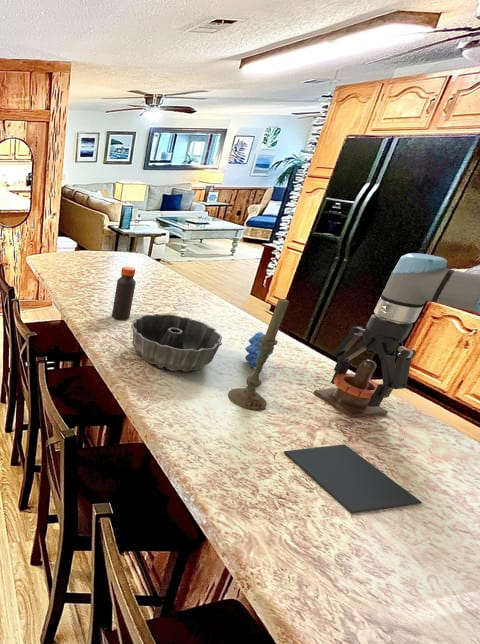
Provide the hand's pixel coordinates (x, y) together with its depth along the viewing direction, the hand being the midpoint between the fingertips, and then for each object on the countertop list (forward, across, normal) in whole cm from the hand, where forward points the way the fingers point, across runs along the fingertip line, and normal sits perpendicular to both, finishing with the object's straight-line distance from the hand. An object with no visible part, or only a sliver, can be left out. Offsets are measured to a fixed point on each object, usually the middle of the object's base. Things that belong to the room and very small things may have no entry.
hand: (353, 393), depth 103 cm
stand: (+3, 0, 0) cm, 3 cm away
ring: (-2, 0, 0) cm, 2 cm away
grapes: (+3, -20, -12) cm, 24 cm away
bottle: (+3, -61, -38) cm, 72 cm away
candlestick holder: (+3, -5, -27) cm, 28 cm away
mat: (+3, +22, -25) cm, 33 cm away
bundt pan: (+3, -29, -36) cm, 46 cm away
